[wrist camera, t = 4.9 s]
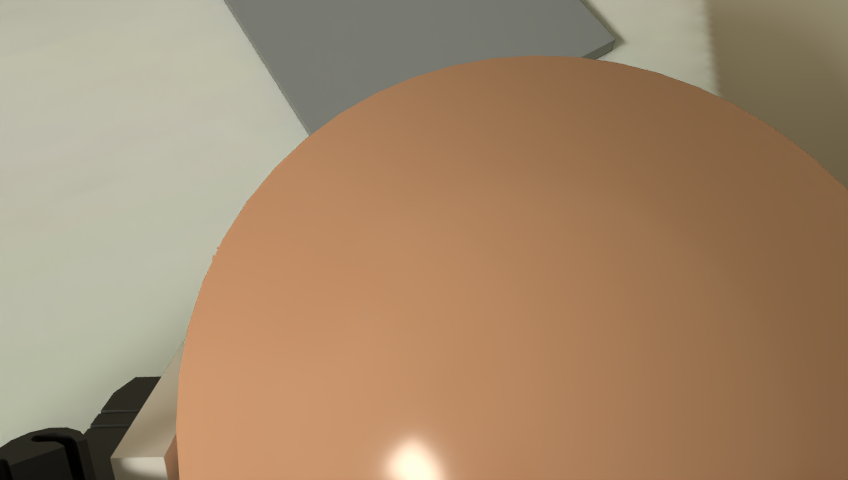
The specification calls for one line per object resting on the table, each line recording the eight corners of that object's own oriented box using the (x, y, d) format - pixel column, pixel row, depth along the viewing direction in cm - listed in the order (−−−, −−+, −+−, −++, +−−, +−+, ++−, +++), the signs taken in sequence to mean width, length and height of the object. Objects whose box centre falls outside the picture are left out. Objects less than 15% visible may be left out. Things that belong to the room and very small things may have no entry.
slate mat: (207, -27, 26) (202, -39, 25) (449, -131, 28) (450, -144, 28) (343, 190, 22) (341, 181, 22) (611, 50, 24) (615, 39, 24)
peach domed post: (236, 462, 19) (17, 379, 9) (477, 226, 22) (522, -43, 12) (509, 769, 16) (651, 1169, 6) (744, 451, 19) (1109, 355, 9)
